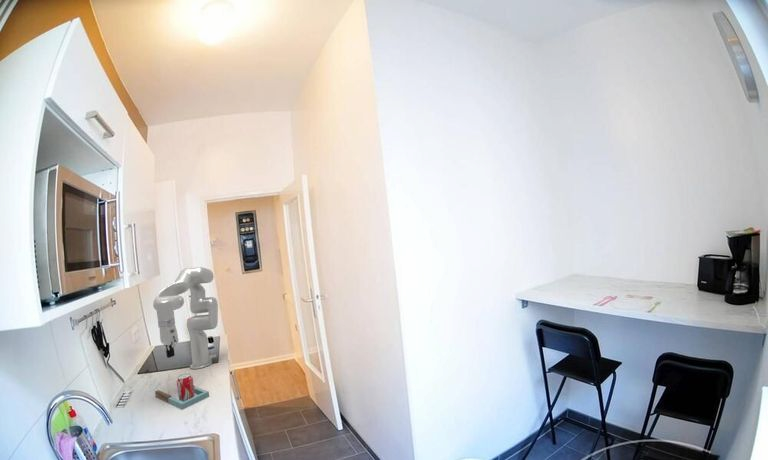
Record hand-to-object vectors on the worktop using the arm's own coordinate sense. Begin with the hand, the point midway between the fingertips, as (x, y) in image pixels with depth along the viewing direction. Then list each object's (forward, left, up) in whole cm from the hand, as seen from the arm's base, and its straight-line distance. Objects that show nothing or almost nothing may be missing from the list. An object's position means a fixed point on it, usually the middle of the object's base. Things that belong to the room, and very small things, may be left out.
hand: (170, 356), depth 185 cm
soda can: (+1, +15, -20) cm, 25 cm away
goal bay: (0, +15, -20) cm, 25 cm away
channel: (0, +2, -20) cm, 20 cm away
